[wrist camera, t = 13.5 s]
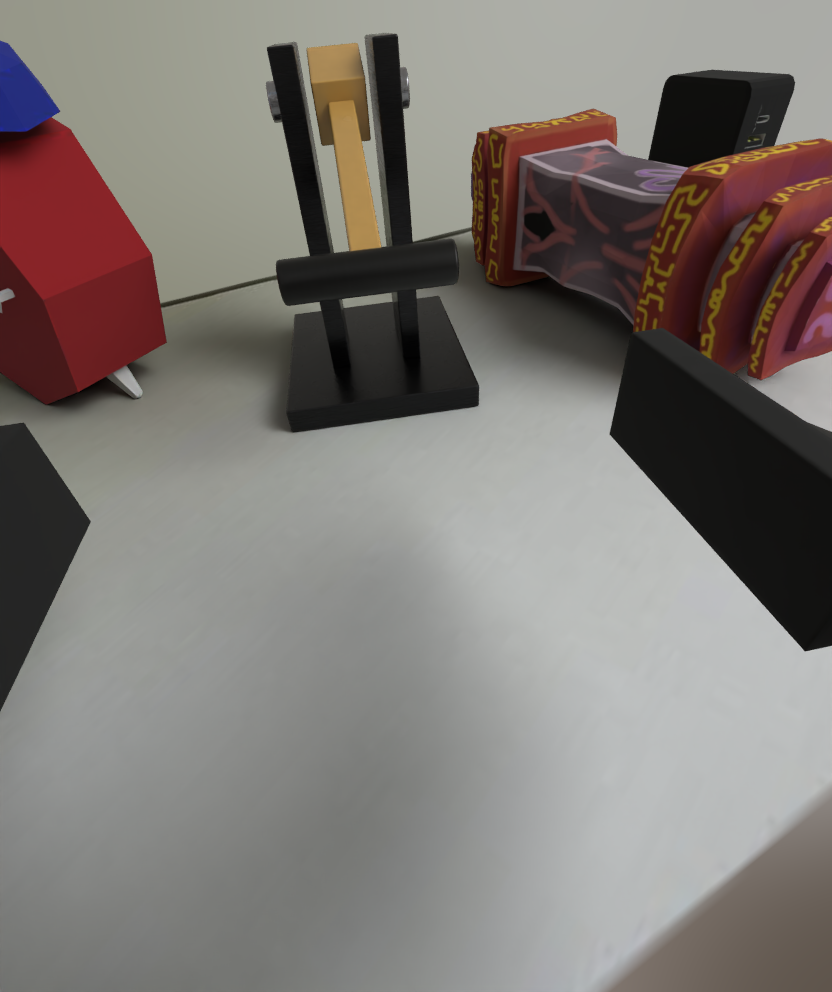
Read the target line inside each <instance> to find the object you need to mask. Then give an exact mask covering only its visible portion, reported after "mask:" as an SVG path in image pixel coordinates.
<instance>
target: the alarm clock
mask: <svg viewBox="0 0 832 992" xmlns="http://www.w3.org/2000/svg"><path fill="white" fill-rule="evenodd" d="M59 112H60V110H59V109H58V107H57V106H56V104H55V103H54V102H53V100H52V99H51V97H50V96H49V95H48V93H47V92H46V90H45V89H44V87H43V86H42V84H41V83H40V82H39V81H38V80H37V78H36V77H35V76H34V75H33V73H32V72H31V71H30V70H29V69H28V67H27V66H26V65H25V64H24V63H23V61H22V60H21V59H20V58H19V56H18V55H17V54H16V53H15V52H14V50H13V49H12V48H11V47H10V45H9V44H8V43H5V42H2V41H0V373H2V374H3V375H5V376H6V377H7V378H9V379H10V380H12V381H13V382H15V383H16V384H17V385H19V386H20V387H22V388H23V389H25V390H26V391H27V392H29V393H30V394H32V395H33V396H34V397H36V398H37V399H39V400H40V401H42V402H43V403H44V404H49V403H51V402H54V401H57V400H59V399H62V398H64V397H67V396H69V395H72V394H74V393H77V392H79V391H81V390H83V389H85V388H86V387H88V386H90V385H92V384H93V383H95V382H97V381H99V380H101V379H102V378H104V377H107V378H108V379H110V380H111V381H112V382H113V383H115V384H116V385H117V386H119V387H120V388H121V389H123V390H124V391H125V392H126V393H128V394H129V395H130V396H132V397H133V398H134V399H136V398H141V396H142V394H143V391H142V390H141V388H140V386H139V385H138V383H137V381H136V380H135V378H134V376H133V375H132V373H131V372H130V370H129V368H128V367H127V364H129V363H131V362H133V361H135V360H136V359H138V358H140V357H142V356H143V355H145V354H147V353H149V352H151V351H152V350H154V349H156V348H158V347H160V346H161V345H163V344H165V343H167V342H166V336H165V330H164V324H163V318H162V312H161V306H160V300H159V294H158V288H157V282H156V276H155V270H154V264H153V259H152V254H151V252H150V251H149V249H148V248H147V246H146V245H145V243H144V242H143V240H142V239H141V237H140V236H139V234H138V233H137V231H136V230H135V228H134V226H133V225H132V223H131V222H130V220H129V219H128V217H127V216H126V214H125V213H124V211H123V209H122V208H121V206H120V205H119V203H118V202H117V200H116V199H115V197H114V196H113V194H112V193H111V191H110V190H109V188H108V186H107V185H106V184H105V182H104V180H103V179H102V177H101V176H100V174H99V173H98V171H97V170H96V168H95V166H94V165H93V164H92V162H91V160H90V159H89V157H88V156H87V154H86V153H85V151H84V149H83V148H82V146H81V145H80V143H79V142H78V140H77V139H76V137H75V136H74V134H73V133H72V131H71V129H69V128H68V127H66V126H64V125H63V124H61V123H60V122H58V121H56V120H55V119H53V118H52V116H54V115H55V114H57V113H59Z"/></svg>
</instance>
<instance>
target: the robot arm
mask: <svg viewBox="0 0 832 992" xmlns="http://www.w3.org/2000/svg"><path fill="white" fill-rule="evenodd" d="M610 435H611V436H612V438H613V439H614V440H615V441H616V442H617V443H618V444H619V445H620V446H621V448H622V449H623V450H624V451H625V452H626V453H627V454H628V455H629V456H630V458H631V459H632V460H633V461H634V462H635V463H636V464H637V465H638V466H639V468H640V469H641V470H642V471H643V472H644V473H645V474H646V475H647V476H648V478H649V479H650V480H651V481H652V482H653V483H654V484H655V485H656V486H657V487H658V489H659V490H660V491H661V492H662V493H663V494H664V495H665V496H666V497H667V499H668V500H669V501H670V502H671V503H672V504H673V505H674V506H675V507H676V509H677V510H678V511H679V512H680V513H681V514H682V515H683V516H684V517H685V519H686V520H687V521H688V522H689V523H690V524H691V525H692V526H693V527H694V529H695V530H696V531H697V532H698V533H699V534H700V535H701V536H702V537H703V539H704V540H705V541H706V542H707V543H708V544H709V545H710V546H711V547H712V549H713V550H714V551H715V552H716V553H717V554H718V555H719V556H720V557H721V559H722V560H723V561H724V562H725V563H726V564H727V565H728V566H729V567H730V569H731V570H732V571H733V572H734V573H735V574H736V575H737V576H738V577H739V579H740V580H741V581H742V582H743V583H744V584H745V585H746V586H747V587H748V589H749V590H750V591H751V592H752V593H753V594H754V595H755V596H756V597H757V599H758V600H759V601H760V602H761V603H762V604H763V605H764V606H765V607H766V609H767V610H768V611H769V612H770V613H771V614H772V615H773V616H774V617H775V619H776V620H777V621H778V622H779V623H780V624H781V625H782V626H783V627H784V629H785V630H786V631H787V632H788V633H789V634H790V635H791V636H792V637H793V639H794V640H795V641H796V642H797V643H798V644H799V645H800V646H801V647H802V649H803V650H804V651H809V650H814V649H819V648H823V647H828V646H832V432H830V431H828V430H825V429H823V428H820V427H818V426H815V425H812V424H810V423H807V422H805V421H804V420H802V419H801V418H799V417H798V416H796V415H795V414H793V413H792V412H790V411H789V410H787V409H786V408H784V407H783V406H781V405H780V404H778V403H776V402H775V401H773V400H772V399H770V398H769V397H767V396H766V395H764V394H763V393H761V392H760V391H758V390H757V389H755V388H754V387H752V386H751V385H749V384H748V383H746V382H745V381H743V380H741V379H740V378H738V377H737V376H735V375H734V374H732V373H731V372H729V371H728V370H726V369H725V368H723V367H722V366H720V365H719V364H717V363H716V362H714V361H713V360H711V359H710V358H708V357H706V356H705V355H703V354H702V353H700V352H699V351H697V350H696V349H694V348H693V347H691V346H690V345H688V344H687V343H685V342H684V341H682V340H681V339H679V338H678V337H676V336H675V335H673V334H671V333H670V332H668V331H667V330H665V329H664V328H658V329H651V330H645V331H638V332H631V337H630V341H629V346H628V351H627V355H626V360H625V365H624V369H623V374H622V379H621V383H620V388H619V393H618V397H617V402H616V407H615V411H614V416H613V421H612V426H611V430H610ZM90 522H91V521H90V520H89V518H88V517H87V515H86V514H85V512H84V511H83V509H82V508H81V507H80V505H79V504H78V502H77V501H76V499H75V498H74V496H73V495H72V493H71V492H70V490H69V489H68V487H67V486H66V484H65V483H64V481H63V480H62V478H61V477H60V475H59V474H58V472H57V471H56V470H55V468H54V467H53V465H52V464H51V462H50V461H49V459H48V458H47V456H46V455H45V453H44V452H43V450H42V449H41V447H40V446H39V444H38V443H37V441H36V440H35V438H34V437H33V435H32V434H31V433H30V431H29V430H28V428H27V427H26V425H25V424H24V423H18V424H12V425H5V426H0V711H1V709H2V707H3V704H4V702H5V700H6V698H7V696H8V694H9V692H10V690H11V688H12V686H13V684H14V681H15V679H16V677H17V675H18V673H19V671H20V669H21V667H22V665H23V663H24V660H25V658H26V656H27V654H28V652H29V650H30V648H31V646H32V644H33V642H34V639H35V637H36V635H37V633H38V631H39V629H40V627H41V625H42V623H43V621H44V619H45V616H46V614H47V612H48V610H49V608H50V606H51V604H52V602H53V600H54V598H55V595H56V593H57V591H58V589H59V587H60V585H61V583H62V581H63V579H64V577H65V574H66V572H67V570H68V568H69V566H70V564H71V562H72V560H73V558H74V556H75V554H76V551H77V549H78V547H79V545H80V543H81V541H82V539H83V537H84V535H85V533H86V530H87V528H88V526H89V524H90Z"/></svg>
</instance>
